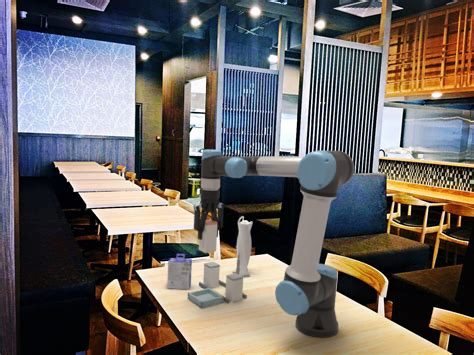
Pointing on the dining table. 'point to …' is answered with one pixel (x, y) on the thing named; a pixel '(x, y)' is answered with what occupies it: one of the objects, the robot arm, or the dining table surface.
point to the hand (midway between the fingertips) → (207, 246)
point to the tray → (205, 297)
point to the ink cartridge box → (179, 272)
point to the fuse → (210, 236)
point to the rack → (232, 282)
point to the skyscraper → (243, 247)
